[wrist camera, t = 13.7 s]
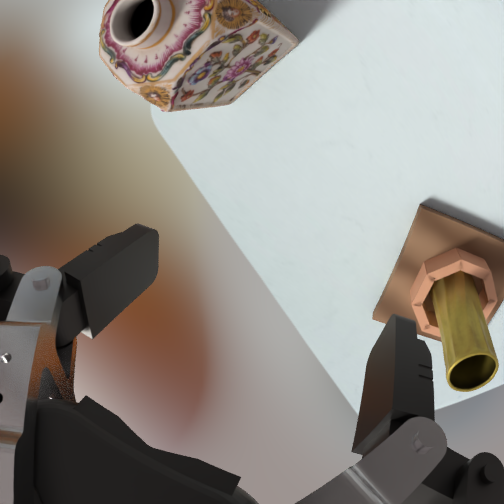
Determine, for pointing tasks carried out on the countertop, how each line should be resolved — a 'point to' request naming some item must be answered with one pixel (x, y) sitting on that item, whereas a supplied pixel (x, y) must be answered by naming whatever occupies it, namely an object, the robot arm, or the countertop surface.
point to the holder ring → (442, 268)
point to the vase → (463, 332)
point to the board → (428, 246)
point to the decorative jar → (191, 49)
